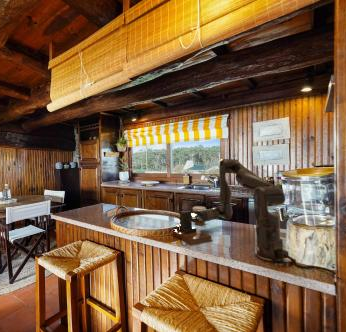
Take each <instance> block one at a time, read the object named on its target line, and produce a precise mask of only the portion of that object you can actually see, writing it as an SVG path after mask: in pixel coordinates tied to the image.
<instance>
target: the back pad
mask: <svg viewBox="0 0 346 332" xmlns="http://www.w3.org/2000/svg"><path fill="white" fill-rule="evenodd" d="M191 214H192V211H190V210H188V209H187V210H181V211H179V225H180V229H181V230H183V231H184V229H188V228H193V222H190V221H189V222H184V218H189V217H192V216H191Z"/></svg>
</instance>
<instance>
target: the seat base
mask: <svg viewBox="0 0 346 332" xmlns="http://www.w3.org/2000/svg"><path fill="white" fill-rule="evenodd" d="M179 225H180V224H179ZM179 225H176V226H175V227H176V229H174V230H175V231H174V233H173V232H172V236H174V237H175V238H177V239H179V240H181V241H183V242H185V243H187V244H189V245H190V246H194V245H195V246H196V245H198V244H199V245H200V244H204V243H208V242H212V235H211V234H208V233H206V232H203V231H201V230H198V229H197V227H195V226H194V227H193V226H192V228H188V229H184V231H183V230H181V229H180V230H179Z"/></svg>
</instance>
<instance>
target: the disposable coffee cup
mask: <svg viewBox="0 0 346 332" xmlns="http://www.w3.org/2000/svg"><path fill="white" fill-rule="evenodd" d="M205 209H207V208H206V206H201V205H195V206H193V207H192V212H193V213H192V214H195V212H196V211H199V210H205ZM205 223H206V222H201V223H199V222H194V224H195V225H197V226H205Z"/></svg>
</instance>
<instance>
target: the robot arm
mask: <svg viewBox="0 0 346 332" xmlns="http://www.w3.org/2000/svg"><path fill="white" fill-rule="evenodd" d="M218 173H219V175H218V176H219V177H218V178H219V196H218V202H219V203H220V204H221V205H217V206H215V207H213V208H206V209H205V210H199V211H196V212H195V214H194V213H191V216H192V217H189V218H184V222H189V221H190V222H192V223H195V222H199V223H201V222H205V223H206V222H211V221H214V220H218V219H220V218H222V219H223V220H224V219H225V220H231V218H232V216H233V207H232V196H233V195H232V189H231V187H230V184H229V183H228V181H227V174H233V175H234V174H235V181H236V183H238V184H239V185H240V186H241V187H242V188H244V189H247V190H249V191H252V193H253V194H252V196H253V198H252V199H253V209H254V210H253V211H254V215H255V233H256V234H255V236H256V241H255V243H256V244H255V249H256V257H257V258H259V259H261V260H263V261H266V262H271V263H274V264H275V263H278V262H282V261H284V259H289V260H290V261H291V262H292V264H293V265H294V266H296V267H298V268H301V269H318V270H323V271H325V272H326V271H327V272H329V273H331V274H333V275H334V276H335V271H334V270H333V269H331V268H326V267H323V266H318V265H313V264H312V265H311V264H310V265H309V264H308V265H303V264H299V263H297V262H296V260H295V259H294V258H293V257H291V256H290V255H289V251H287V250H285V249H284V240H283V239H282V238H281V217H280V215H279V214H276V213H273V212H270V211H269V209H268V207H279V206H283V204H285V202H286V195H285V193H284V191H283V190H282V189H281V188H280V187H279V186H277V185H275V184H273V183H271V182H268V181H267V180H265V179H264V178H262V177H260V176H258V175H257V174H256V173H255V172H253V171H252V170H249V169H248V168H247V167H245V166H244V165H243V164H242V163H241V162H240V161H239V160H237V159H233V158H223V159H222V158H221V160H220V161H219V165H218Z"/></svg>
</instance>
